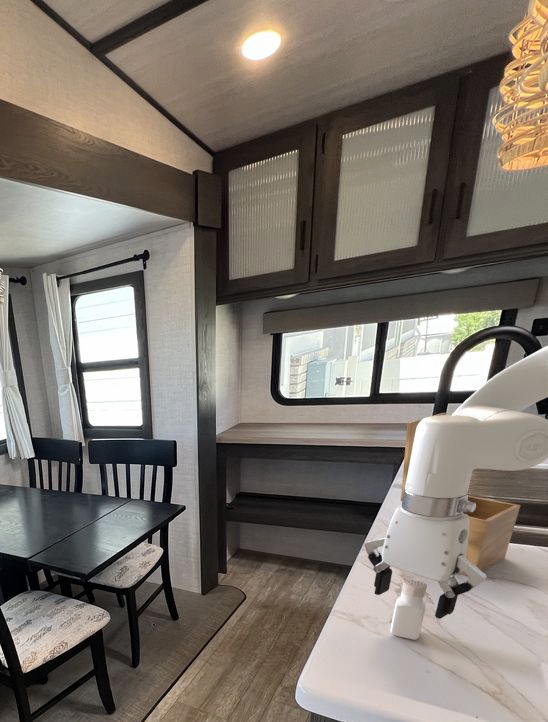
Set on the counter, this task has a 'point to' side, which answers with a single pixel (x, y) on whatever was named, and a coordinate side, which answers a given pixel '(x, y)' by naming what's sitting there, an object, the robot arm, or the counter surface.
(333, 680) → the counter surface
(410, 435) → the lid
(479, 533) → the chest
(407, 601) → the pepper shaker
